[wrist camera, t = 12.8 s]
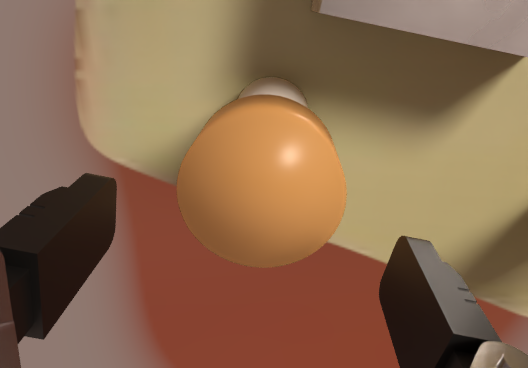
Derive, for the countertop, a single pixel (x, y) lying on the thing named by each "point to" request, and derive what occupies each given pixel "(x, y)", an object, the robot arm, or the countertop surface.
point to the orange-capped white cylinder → (263, 179)
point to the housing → (443, 19)
